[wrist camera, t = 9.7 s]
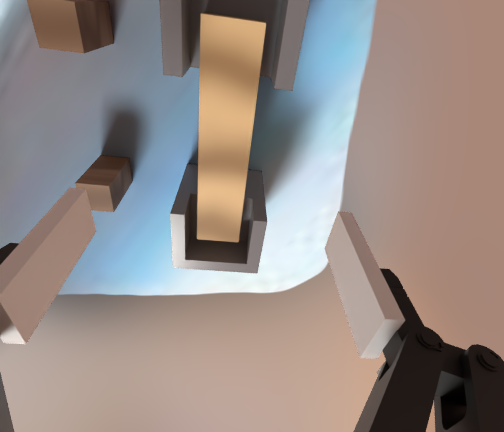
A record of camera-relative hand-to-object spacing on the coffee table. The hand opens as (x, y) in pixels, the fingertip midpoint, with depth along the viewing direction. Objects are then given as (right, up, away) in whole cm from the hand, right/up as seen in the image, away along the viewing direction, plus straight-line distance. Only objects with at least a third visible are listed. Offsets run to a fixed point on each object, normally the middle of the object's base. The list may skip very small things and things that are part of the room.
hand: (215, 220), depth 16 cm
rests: (-12, +11, +13) cm, 21 cm away
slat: (0, +7, +9) cm, 11 cm away
